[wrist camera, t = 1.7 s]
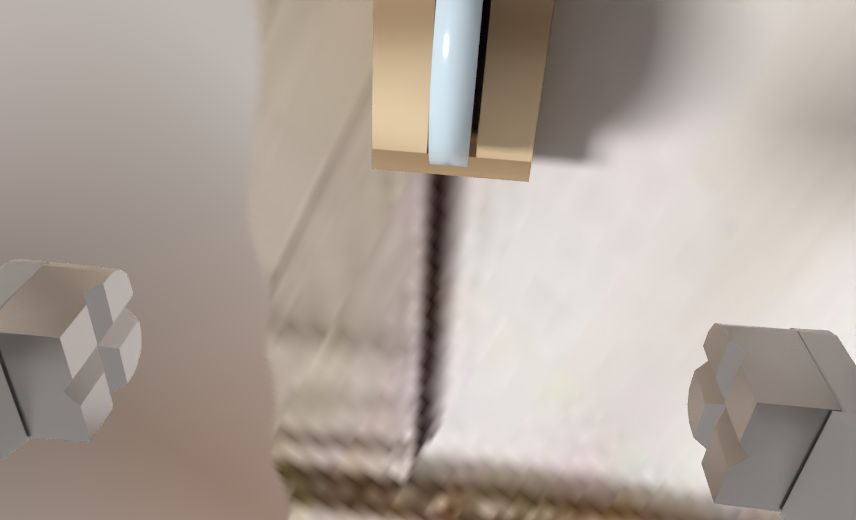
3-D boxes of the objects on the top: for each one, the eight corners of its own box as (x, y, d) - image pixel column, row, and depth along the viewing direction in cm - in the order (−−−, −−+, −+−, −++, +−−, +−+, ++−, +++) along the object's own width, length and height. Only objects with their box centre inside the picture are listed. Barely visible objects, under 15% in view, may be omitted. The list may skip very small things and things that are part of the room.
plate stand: (525, 150, 29) (528, 181, 26) (382, 138, 29) (371, 168, 27) (568, -156, 23) (576, -150, 21) (387, -167, 23) (375, -163, 21)
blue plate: (471, 115, 28) (463, 211, 21) (440, 113, 28) (423, 207, 21) (491, -115, 24) (490, -87, 17) (456, -117, 24) (440, -91, 17)
